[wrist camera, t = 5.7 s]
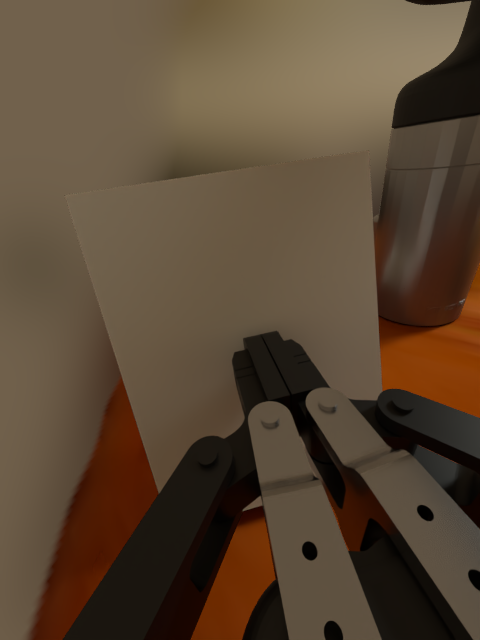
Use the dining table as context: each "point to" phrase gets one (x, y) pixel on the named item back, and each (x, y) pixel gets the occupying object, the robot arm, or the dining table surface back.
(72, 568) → the dining table surface
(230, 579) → the dining table surface
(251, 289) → the tile
